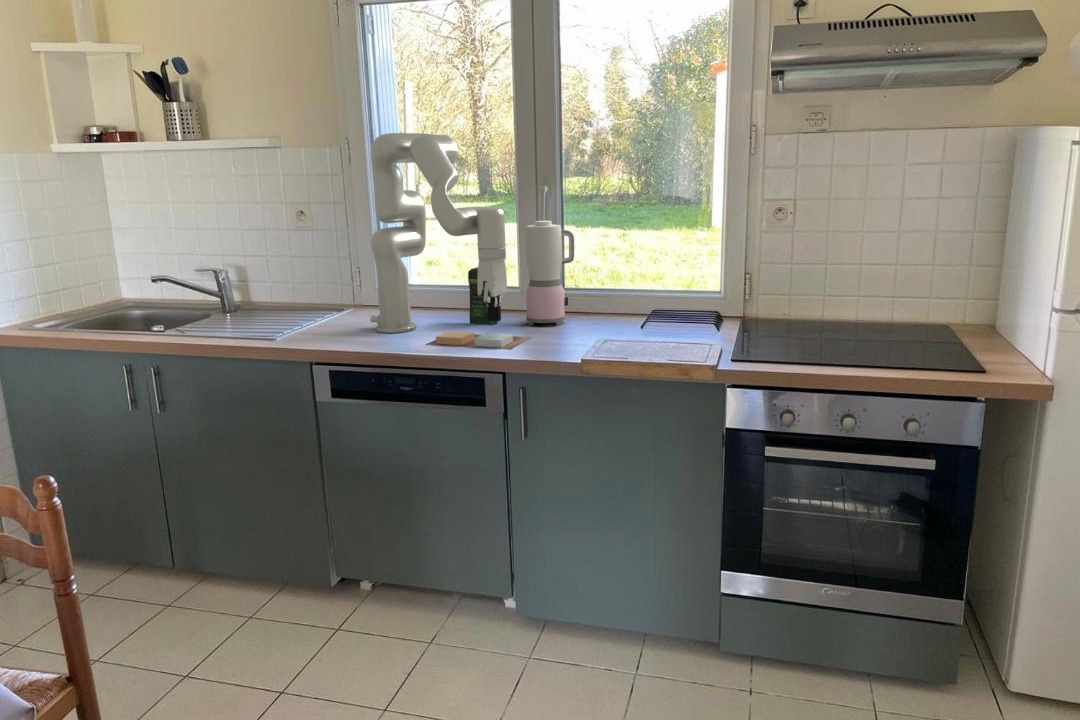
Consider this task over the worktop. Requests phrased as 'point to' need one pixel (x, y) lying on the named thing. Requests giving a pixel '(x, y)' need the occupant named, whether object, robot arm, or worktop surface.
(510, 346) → the walnut board
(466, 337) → the terracotta tile
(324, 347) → the worktop surface
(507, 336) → the grey-blue tile
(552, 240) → the blender
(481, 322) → the coffee jar
